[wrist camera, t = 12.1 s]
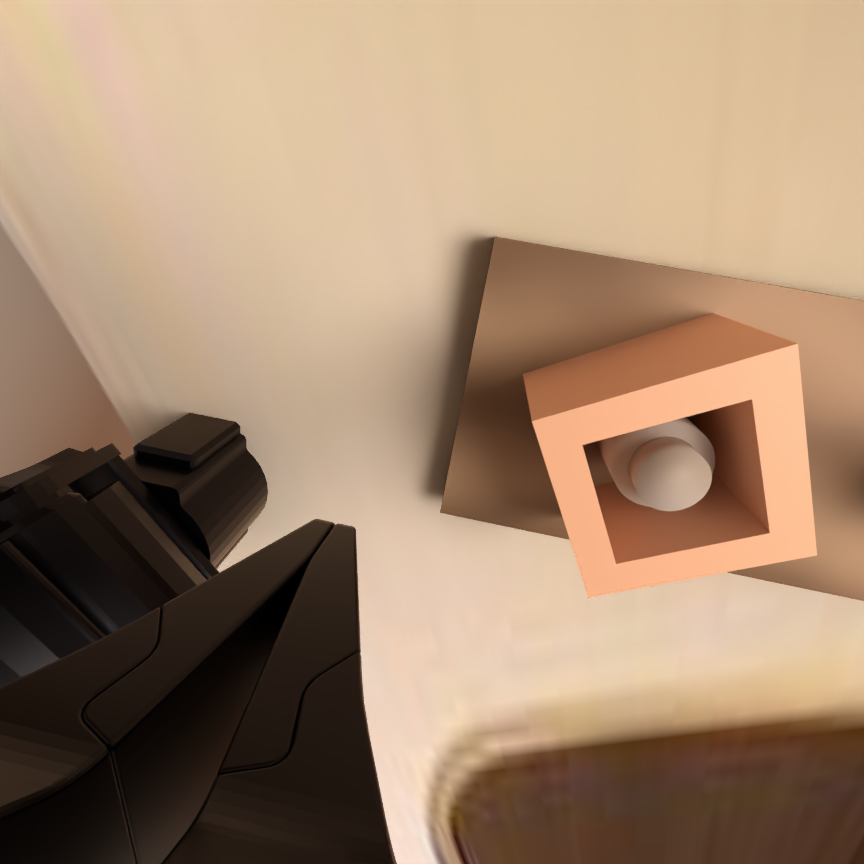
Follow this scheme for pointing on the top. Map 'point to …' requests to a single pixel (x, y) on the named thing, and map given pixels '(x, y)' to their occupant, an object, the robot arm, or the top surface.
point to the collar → (715, 417)
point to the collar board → (630, 308)
